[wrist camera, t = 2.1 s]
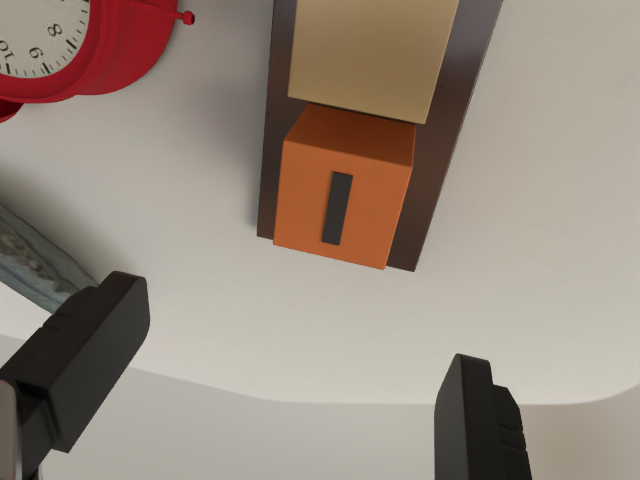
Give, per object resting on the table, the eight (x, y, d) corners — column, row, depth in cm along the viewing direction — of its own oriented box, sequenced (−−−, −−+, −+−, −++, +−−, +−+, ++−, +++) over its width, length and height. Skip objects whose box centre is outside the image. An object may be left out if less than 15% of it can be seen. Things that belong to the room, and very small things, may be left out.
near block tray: (315, -506, 12) (261, -705, 8) (653, -473, 11) (765, -672, 7) (259, 230, 24) (228, 287, 21) (414, 265, 24) (411, 330, 20)
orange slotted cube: (307, 102, 20) (281, 141, 16) (416, 124, 19) (412, 168, 16) (295, 197, 22) (271, 246, 19) (391, 218, 22) (383, 272, 18)
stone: (113, 328, 33) (153, 282, 25) (68, 375, 30) (98, 340, 23) (-18, 222, 31) (-17, 138, 23) (-78, 263, 28) (-98, 184, 21)
